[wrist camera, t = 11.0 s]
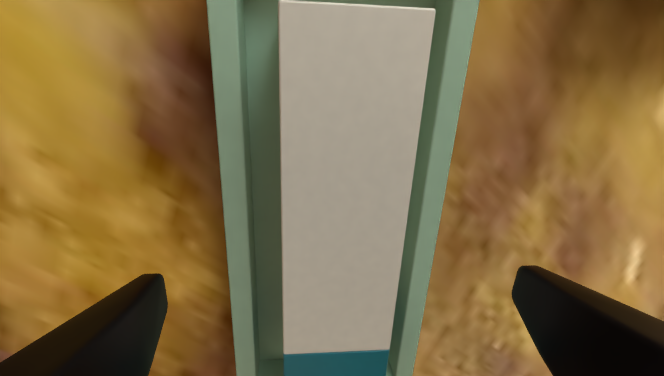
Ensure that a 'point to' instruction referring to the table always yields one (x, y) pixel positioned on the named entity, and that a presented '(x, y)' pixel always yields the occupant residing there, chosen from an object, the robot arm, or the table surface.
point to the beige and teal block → (346, 176)
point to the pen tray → (265, 179)
